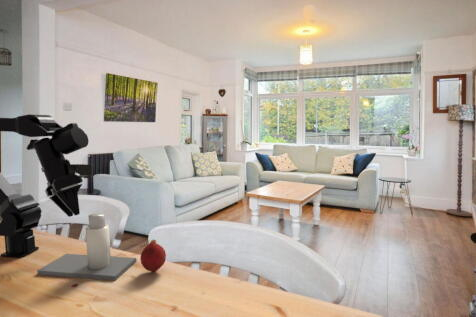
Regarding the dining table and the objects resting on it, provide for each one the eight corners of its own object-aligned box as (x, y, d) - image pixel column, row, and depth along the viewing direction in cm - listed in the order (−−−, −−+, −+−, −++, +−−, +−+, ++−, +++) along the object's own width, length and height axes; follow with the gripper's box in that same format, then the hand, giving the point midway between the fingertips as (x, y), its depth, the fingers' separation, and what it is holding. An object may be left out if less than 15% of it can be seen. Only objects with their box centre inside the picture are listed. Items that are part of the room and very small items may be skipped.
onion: (159, 279, 73) (158, 245, 72) (136, 276, 74) (135, 243, 73) (170, 267, 78) (169, 236, 78) (148, 266, 80) (147, 235, 79)
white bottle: (84, 269, 75) (81, 218, 74) (92, 260, 81) (89, 212, 79) (107, 268, 76) (104, 217, 75) (113, 259, 81) (110, 211, 80)
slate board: (37, 274, 76) (37, 270, 75) (66, 257, 85) (66, 253, 85) (115, 280, 72) (115, 276, 72) (136, 261, 82) (136, 257, 82)
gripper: (91, 144, 81) (113, 201, 82) (77, 158, 96) (96, 206, 97) (43, 157, 74) (67, 219, 75) (36, 169, 89) (56, 221, 90)
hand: (74, 215), depth 84 cm, fingers open, 9 cm apart
